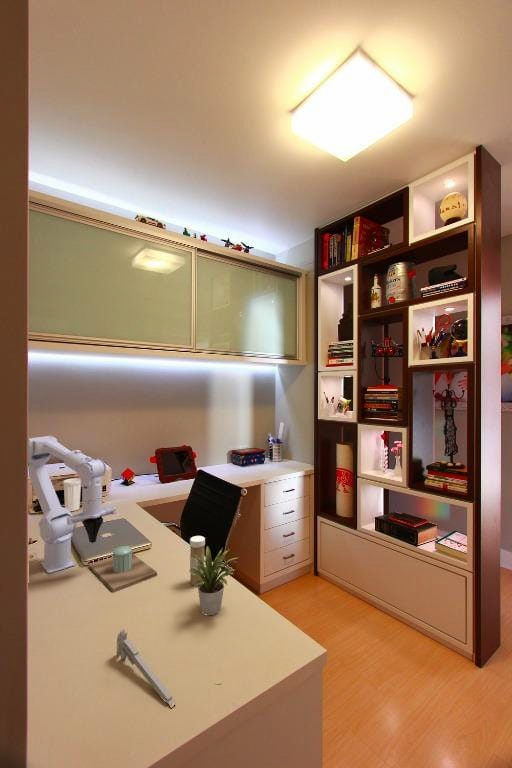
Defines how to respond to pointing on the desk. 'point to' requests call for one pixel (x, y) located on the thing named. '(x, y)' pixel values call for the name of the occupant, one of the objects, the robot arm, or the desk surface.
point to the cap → (122, 559)
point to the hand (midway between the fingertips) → (92, 541)
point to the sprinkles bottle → (197, 549)
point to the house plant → (211, 581)
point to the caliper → (141, 665)
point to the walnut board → (125, 579)
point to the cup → (72, 493)
